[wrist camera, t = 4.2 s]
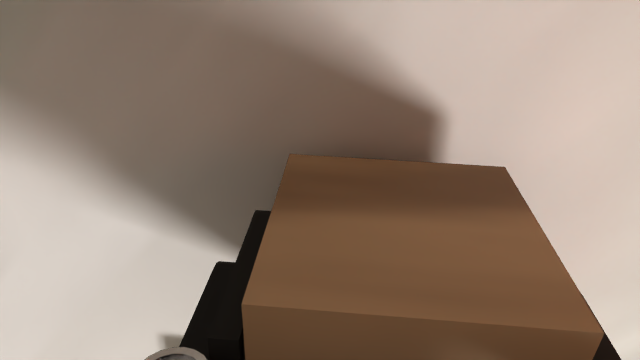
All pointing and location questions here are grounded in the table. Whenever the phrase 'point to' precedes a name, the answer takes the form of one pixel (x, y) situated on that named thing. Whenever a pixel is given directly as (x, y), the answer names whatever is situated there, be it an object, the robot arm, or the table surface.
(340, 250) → the walnut cube
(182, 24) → the table surface
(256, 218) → the robot arm
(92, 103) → the table surface
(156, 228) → the table surface
